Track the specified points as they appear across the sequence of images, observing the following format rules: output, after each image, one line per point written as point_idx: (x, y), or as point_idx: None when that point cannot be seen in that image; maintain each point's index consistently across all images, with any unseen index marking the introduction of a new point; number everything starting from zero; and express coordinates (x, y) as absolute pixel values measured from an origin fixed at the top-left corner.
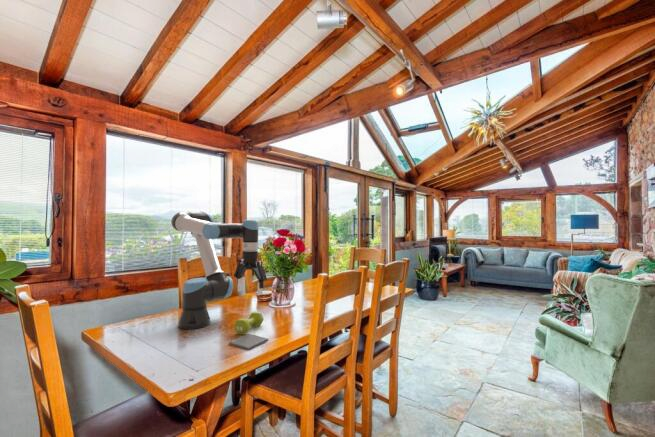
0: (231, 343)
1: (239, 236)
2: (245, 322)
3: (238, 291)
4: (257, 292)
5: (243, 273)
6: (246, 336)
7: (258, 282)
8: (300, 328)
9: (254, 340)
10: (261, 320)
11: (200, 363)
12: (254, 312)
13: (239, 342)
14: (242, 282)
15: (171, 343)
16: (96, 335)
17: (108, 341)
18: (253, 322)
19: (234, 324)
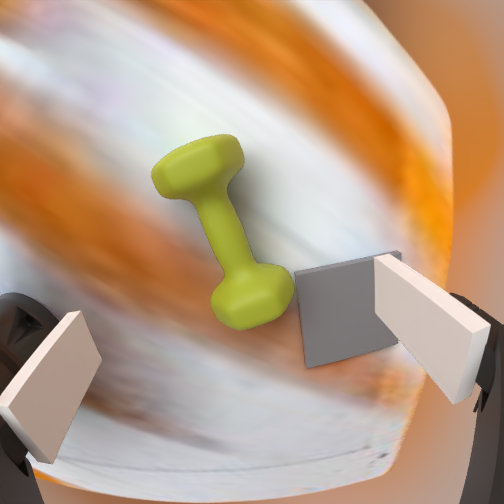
0: (318, 363)
1: None
2: (286, 304)
3: (98, 362)
4: (388, 326)
5: (12, 495)
6: (316, 301)
7: (465, 394)
8: (392, 57)
9: (372, 300)
10: (243, 158)
11: (345, 440)
12: (191, 179)
13: (342, 347)
14: (38, 371)
15: (167, 449)
16: (36, 474)
17: (79, 483)
18: (234, 210)
19: (223, 323)
